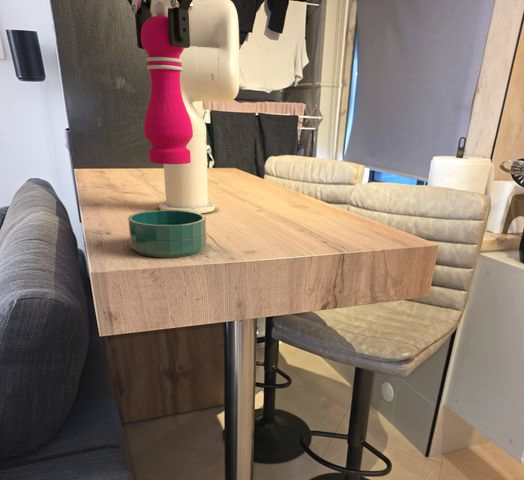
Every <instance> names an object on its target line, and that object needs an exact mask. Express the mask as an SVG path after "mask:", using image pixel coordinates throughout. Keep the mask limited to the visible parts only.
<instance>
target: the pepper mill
mask: <svg viewBox="0 0 524 480" xmlns="http://www.w3.org/2000/svg"><path fill="white" fill-rule="evenodd" d="M154 13H155V15H152V17H151V18H149V19H147V20H146V21H145V22H144V24H143V26H142V29H141V43H142V46H143V48H144V49H143V50H144V51H145V52H146V54H147V55H148V57H147V58H145V60H146V62H147V63H146V65H147V66H146V70H148V71H149V74H150V96H149V101H148V105H147V108H146V112H145V114H144V115H145V116H144V120H143V135H144V137H145V138H146V140H147V141H148V142H149V143H150V145H151V146H152V147H151V148H149V149H148V158H149V162H150V163H151V164H157V165H158V164H159V165H164V164H187V163H190V162H191V156H190V150H188V149H187V148H186V146H187V144H188V143H189V142H190V140H191V138H192V136H193V129H192V123H191V119H190V116H189V114H188V112H187V109H186V107H185V104H184V101H183V98H182V94H181V87H180V72H181V71H182V70H183V68H182V65H181V64H182V60H180V59H179V58H180V55H181V53H182V52H183V50H184V48H182V47H176V46H171V45H170V43H169V29H168V17H167V14H168V8H167V6H166V4H165V3H163V2H160V1H158V2H157V3H156V4H154Z"/></svg>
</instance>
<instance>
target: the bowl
mask: <svg viewBox="0 0 524 480" xmlns="http://www.w3.org/2000/svg"><path fill="white" fill-rule="evenodd" d="M127 224H128V233H129V243H130V247H131V249H132V250H134V251H135V252H136V253H138V254H139V255H141V256H147V257H152V258H162V259H163V258H164V259H165V258H166V259H167V258H169V259H172V258H182V257H190V256H193V255H196V254H199V253H201V252H202V251H203V250H204V249H205V248H206V247H207V244H208V241H207V239H208V238H207V217H206V216H205V215H204V214H203V213H202V214H199V213H195V212H189V211H179V210H160V209H159V210H148V211H141V212H136V213H133V214H130V215H129V216H128V217H127Z"/></svg>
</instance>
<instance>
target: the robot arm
mask: <svg viewBox="0 0 524 480" xmlns="http://www.w3.org/2000/svg"><path fill="white" fill-rule="evenodd" d="M127 2H128V4H129V5H130V7H131V13H132V14H133V15H134V18H135V19H134V20H135V32H136V33H135V34H136V44H137V45H136V46H137V49H140V50H145V49H144V48H143V46H142V43H141V29H142V26H143V24H144V22H145V21H146V20H147V19H149V18H151V17H153V14H154V8H155V0H127ZM159 2H163V3H165V4H166V6H167V8H168V14H167V17H168V29H169V43H170V45H171V46H176V47H182V48H184V50H183V52H182V53H181V55H180V58H179V59H180V60H182V64H181V65H182V68H183V70H182V71H181V72H180V87H181V94H182V98H183V101H184V104H185V107H186V109H187V112H188V114H189V116H190V119H191V123H192V129H193V136H192V138H191V140H190V142H189V143H188V144H187V146H186V148H187V149H188V150H190V156H191V162H190V163H187V164H163V174H164V175H163V176H164V177H163V178H164V192H165V201H162V202H160V203H159V207H158V208H159V210H179V211H189V212H195V213H199V214H202V215H203V214H208V213H211V212H214V211H215V209H216V205H215V203H214V202H212V201H209V191H208V190H209V189H208V186H209V185H208V146H207V144H208V143H207V125H206V123H205V120H204V118H203V116H202V115H201V114H200V112H199V111H198V110H197V109H196V108H195V106H194V104H193V103H194V102H211V103H212V102H217V103H223V102H224V103H226V102H232V101H234V100H235V99H236V98H237V96H238V94H239V91H240V85H241V84H240V83H241V65H240V64H241V62H240V28H239V27H240V26H239V15H238V12H237V8H236V6H235V3H234V2H233V1H232V0H159Z"/></svg>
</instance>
